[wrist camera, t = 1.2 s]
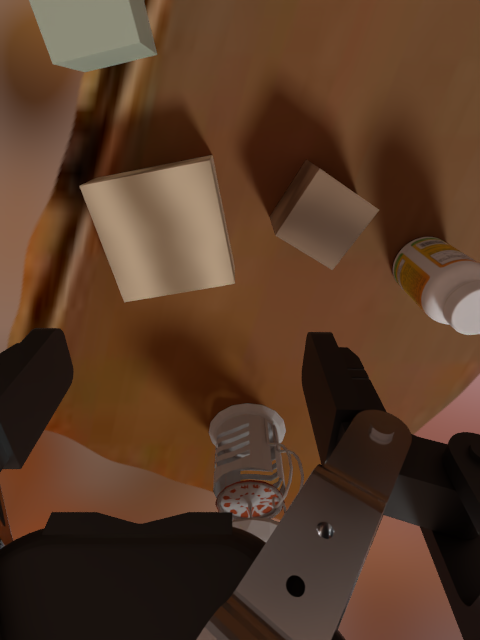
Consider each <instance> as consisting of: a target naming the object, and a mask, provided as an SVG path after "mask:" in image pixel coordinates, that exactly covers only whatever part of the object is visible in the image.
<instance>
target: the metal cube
mask: <svg viewBox="0 0 480 640" xmlns="http://www.w3.org/2000/svg"><path fill="white" fill-rule="evenodd" d="M378 211H379V209H377V208H376V207H374V206H373V205H371V204H370V203H369V202H367V201H366V200H364V199H363V198H361V197H360V196H359V195H357V194H356V193H354V192H353V191H351V190H350V189H348V188H347V187H346V186H344V185H343V184H341V183H340V182H338V181H337V180H336V179H334V178H333V177H331V176H330V175H328V174H327V173H326V172H324V171H323V170H321V169H320V168H318V167H317V166H315V165H314V164H313V163H311V162H310V161H308V160H307V159H306V161H305V162H304V164H303V165H302V167H301V168H300V170H299V172H298V173H297V175H296V176H295V178H294V179H293V181H292V182H291V184H290V186H289V187H288V189H287V190H286V192H285V193H284V195H283V197H282V198H281V200H280V201H279V203H278V204H277V206H276V208H275V209H274V211H273V212H272V214H271V215H270V220H271V223H272V226H273V230H274V233H275V235H276V236H277V237H279V238H280V239H282V240H284V241H285V242H287V243H289V244H290V245H292V246H294V247H295V248H297V249H299V250H300V251H302V252H304V253H305V254H307V255H308V256H310V257H312V258H313V259H315V260H317V261H318V262H320V263H322V264H323V265H325V266H327V267H328V268H330V269H331V270H333V269H334V267H335V266H336V265H337V264H338V262H339V261H340V260H341V258H342V257H343V256H344V255H345V253H346V252H347V251H348V249H349V248H350V247H351V246H352V244H353V243H354V242H355V241H356V239H357V238H358V237H359V235H360V234H361V233H362V232H363V230H364V229H365V228H366V226H367V225H368V224H369V223H370V221H371V220H372V219H373V218H374V216H375V215H376V214H377V212H378Z"/></svg>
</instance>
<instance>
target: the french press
mask: <svg viewBox="0 0 480 640" xmlns="http://www.w3.org/2000/svg"><path fill="white" fill-rule="evenodd" d="M285 432H286V429H285V425H284V420H283V419H282V418H281V417H280V416H279V415H278V414H277V412H276V411H274V410H272V409H270V408H268V407H266V406H263V405H258V404H250V403H245V404H239V405H233V406H230V407H228V408H226V409H224V410H222V411H221V412H219V413H218V414H217V415H216V416H215V418H214V419H213V420H212V421H211V423H210V429H209V435H210V438H211V440H212V443H213V444H214V445H215V446H216V453H217V456H218V457H216V453H215V459H216V460H215V472H214V488H213V492H214V494H215V496H216V498H217V500H216V507H217V509H218V511H219V512H233V513H232V527H236V528H239V529H242V530H245V531H247V532H249V533H252V534H253V535H255V536H257V537H258V538H260V539H262V540H263V541H264V542H267V541H268V539H269V538H270V536H271V534H272V533H273V531H274V530H275V528H276V527H277V525H278V524H279V522H277V521H274V520H272V519H271V518H273V517H275V516H276V515H277V514H278V513H279V512H280V511H281V510H282V508H284V513H286V507H285V504H284V503H285V502H284V499H285V498H286V495H287V492H288V490H289V487H290V484H291V481H292V470H293V467H292V461H291V455H290V453H291V454H293V455H294V456H295V458H296V459H297V461H298V464H299V468H300V472H301V485H300V490H301V488H302V487H303V480H304V474H303V469H302V464H301V461H300V459H299V457H298V456H297V455H296V454H295V453H294V452H293V451H290V450H287V448H286V447H285V446H284V445H283V444H280V443H281V442H282V441H283V438H284V435H285ZM280 446H281V447H283V449H284V450H280ZM217 447H218V448H217ZM281 452H286V453H287V455H288V458H289V465H290V474H289V481H288V485H287V488H286V490H285V481H284V474H283V466H282V458H281ZM275 459H276V463H275V464H273V465H272V461H273V460H275ZM216 463H217V467H216ZM275 468H277V472H276V473H274V474H273V475H271V476H268V475H258V474H242V475H240V471H242V470H256V471H271V472H273V471H272V470H274V469H275ZM278 476H279V477H280V478H279V481H278V482H277V483H275V484H273V485H271V484H268V483H266V482H263V481H256V480H269V481H272V480H274V479H275V478H277V477H278ZM242 479H256V480H246V481H240V480H242ZM282 480H283V485H282V487H281V489H280V491H279V490H278V489H277V488H278V487H279V485H280V483H281V481H282ZM300 490H299V491H300ZM283 495H284V496H283Z"/></svg>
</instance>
